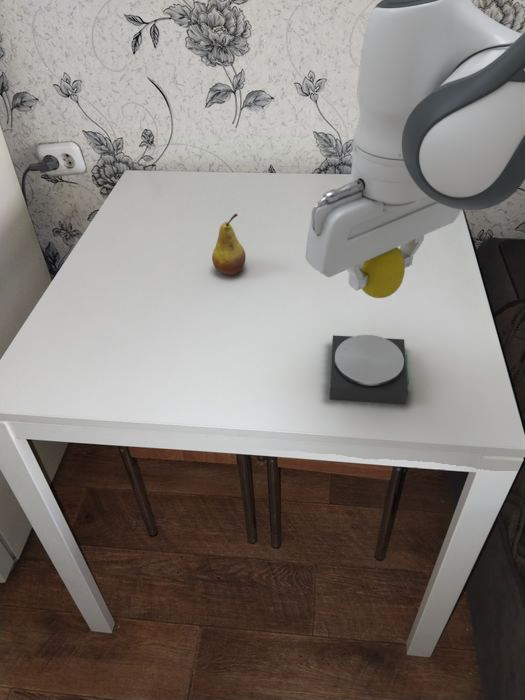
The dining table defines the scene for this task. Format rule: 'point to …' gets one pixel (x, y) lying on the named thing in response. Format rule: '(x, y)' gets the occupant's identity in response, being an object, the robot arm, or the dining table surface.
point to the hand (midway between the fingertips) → (380, 275)
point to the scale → (377, 394)
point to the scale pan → (369, 360)
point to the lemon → (384, 273)
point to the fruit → (228, 251)
